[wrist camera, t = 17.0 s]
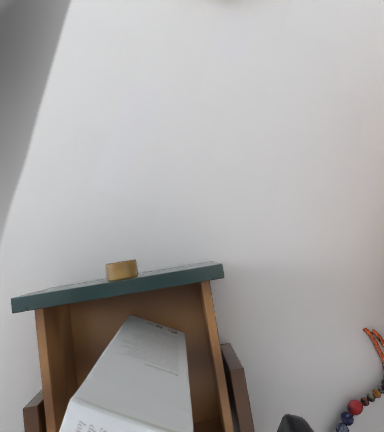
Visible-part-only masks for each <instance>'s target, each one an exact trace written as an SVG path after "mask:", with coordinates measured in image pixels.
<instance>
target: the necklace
mask: <svg viewBox="0 0 384 432" xmlns="http://www.w3.org/2000/svg"><path fill="white" fill-rule="evenodd" d="M363 330H364V331H365V332H366V333H367V334H368V335H369V336H370V338H371V340H372V341H373V343H374V346H375V347H376V350H377V351H378V353H379V355H380V357H381V358H382V361H383V363H382V364H383V368H384V355H383V353H382V351H381V349H380V348H379V345H378V342H377V340H376V338H375V337H374V336H373V335H372V333H374V334H375V336H377V338H378V340H379V341H380V342H381V344H382V346H383V347H384V340H383V339H382V337H381V336H380V334H378V333H377V331H375V330H372V333H371V332H370V331H369V330H368V329H367V328H364V329H363ZM383 376H384V374H383ZM382 384H383V385H380V386H379V387H378V390H374V391H373V394H370V393H369V394H368V395H367V398H365V397H364V398H362V399H361V402H360V401H358V400H353V401H351V402H350V403H349V405H348V411H349V412H343V413H342V414H341V420H342V422H343V423H338V424H337V426H336V431H337V432H349V429H348V427H347V425H348V426H350V425H352V424H353V421H354V419H353V415H358V414H360V413H361V412H362V411H363V405H364V406H368V405H369V401H370V402H374V401H375V398H379V397H381V394H382V393H383V394H384V380H382Z"/></svg>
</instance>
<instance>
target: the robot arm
mask: <svg viewBox="0 0 384 432" xmlns="http://www.w3.org/2000/svg"><path fill="white" fill-rule="evenodd" d="M277 432H314V431H313V430H312V428H311V427H310V426H309V424H308V423H307V422H306V421H305V419H303V418H302V417H300V416H295V415H290V414H286V415H284V416H283V418H282V421H281V423H280V426H279V428H278V430H277Z"/></svg>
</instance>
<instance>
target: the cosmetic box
mask: <svg viewBox="0 0 384 432" xmlns="http://www.w3.org/2000/svg"><path fill="white" fill-rule="evenodd" d="M59 432H193V419H192V408H191V398H190V387H189V377H188V364H187V352H186V340H185V334H184V333H183V332H181V331H178V330H175V329H172V328H169V327H166V326H163V325H160V324H157V323H154V322H151V321H148V320H145V319H142V318H139V317H136V316H133V315H130V316H128V317H127V319H126V320H125V321H124V323H123V324H122V326H121V327H120V329H119V330H118V332H117V333H116V335H115V336H114V338H113V339H112V340H111V342H110V343H109V345H108V346H107V348H106V349H105V350H104V352H103V353H102V355H101V356H100V358H99V359H98V361H97V362H96V364H95V365H94V367H93V368H92V370H91V371H90V373H89V374H88V376H87V378H86V379H85V381H84V382H83V384H82V385H81V386H80V388H79V389H78V390H77V392H76V393H75V394H74V395H73V397H72V398H71V399H70V401H69V403H68V406H67V409H66V412H65V416H64V419H63V422H62V425H61V428H60V431H59Z"/></svg>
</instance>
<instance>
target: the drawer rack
mask: <svg viewBox="0 0 384 432" xmlns="http://www.w3.org/2000/svg"><path fill="white" fill-rule="evenodd" d="M220 349H221V355H222V361H223V367H224V373H225V379H226V385H227V391H228V397H229V403H230V409H231V415H232V422H233V428H234V432H255V431H254V425H253V420H252V414H251V408H250V402H249V396H248V390H247V385H246V379H245V373H244V368H243V366H242V365H241V363H240V361H239V359H238V357H237V355H236V353H235V352H234V350H233V348H232V346H231V344H230V343H227V344H222V345H220ZM23 417H24V427H25V432H47V427H46V418H45V408H44V398H43V389H42V390H41V391H40V392H39V393H38V394H37V395H36V396H35V397H34V398H33V399H32V400H31V401H30V402H29V403H28V404H27V405H26V406H25V407H24V408H23Z"/></svg>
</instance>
